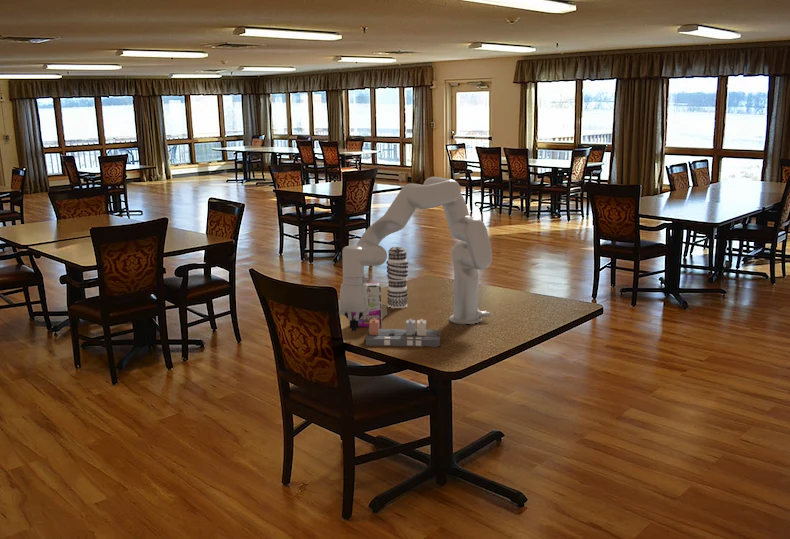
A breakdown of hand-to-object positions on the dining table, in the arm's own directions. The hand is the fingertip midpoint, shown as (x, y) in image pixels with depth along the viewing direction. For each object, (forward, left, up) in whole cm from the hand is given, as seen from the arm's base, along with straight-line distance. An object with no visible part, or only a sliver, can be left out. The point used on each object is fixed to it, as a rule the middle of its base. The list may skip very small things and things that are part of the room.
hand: (354, 330), depth 261 cm
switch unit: (-18, 0, -4) cm, 18 cm away
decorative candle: (-13, -47, -4) cm, 49 cm away
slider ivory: (-24, 0, -1) cm, 24 cm away
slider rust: (-7, 0, -1) cm, 7 cm away
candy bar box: (-3, -18, -4) cm, 19 cm away
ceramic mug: (-5, -29, -4) cm, 30 cm away
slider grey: (-20, 0, -1) cm, 20 cm away
